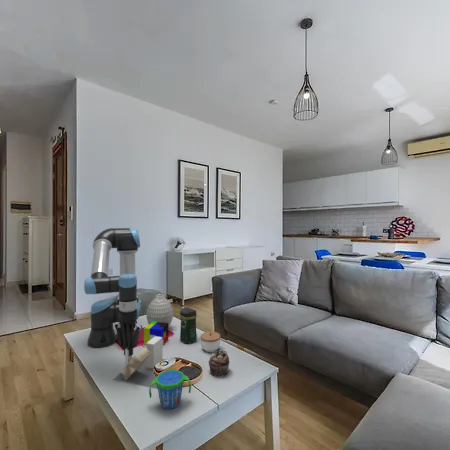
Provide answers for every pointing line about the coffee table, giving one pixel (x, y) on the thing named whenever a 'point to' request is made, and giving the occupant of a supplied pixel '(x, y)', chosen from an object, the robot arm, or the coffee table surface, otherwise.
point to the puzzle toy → (156, 331)
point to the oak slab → (135, 363)
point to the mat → (140, 377)
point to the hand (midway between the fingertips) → (128, 362)
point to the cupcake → (219, 363)
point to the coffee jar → (188, 325)
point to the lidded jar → (210, 341)
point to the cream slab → (154, 352)
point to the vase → (160, 310)
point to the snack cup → (170, 387)
